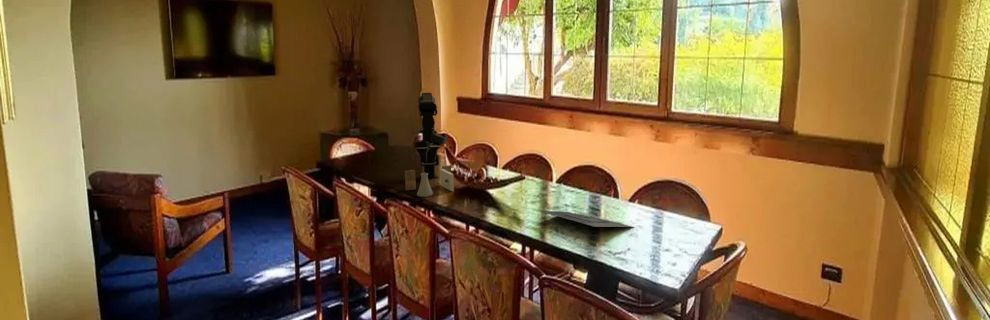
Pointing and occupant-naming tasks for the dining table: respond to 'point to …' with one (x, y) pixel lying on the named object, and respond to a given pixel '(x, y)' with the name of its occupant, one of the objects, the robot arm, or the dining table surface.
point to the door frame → (411, 180)
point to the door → (446, 180)
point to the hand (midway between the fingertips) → (429, 162)
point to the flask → (424, 186)
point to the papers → (585, 219)
